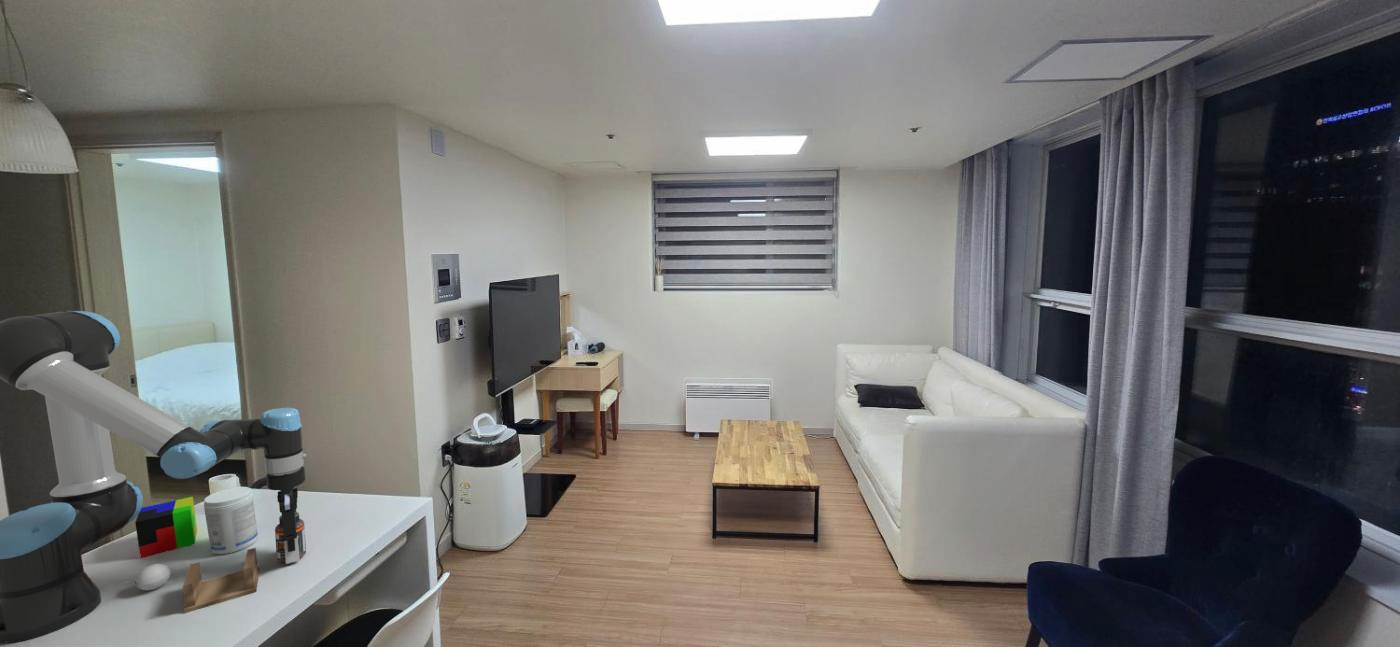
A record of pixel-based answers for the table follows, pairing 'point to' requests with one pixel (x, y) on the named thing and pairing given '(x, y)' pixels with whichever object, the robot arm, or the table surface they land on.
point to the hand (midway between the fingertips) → (293, 555)
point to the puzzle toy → (166, 527)
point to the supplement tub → (230, 520)
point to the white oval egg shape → (152, 577)
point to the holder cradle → (220, 584)
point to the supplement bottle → (279, 534)
